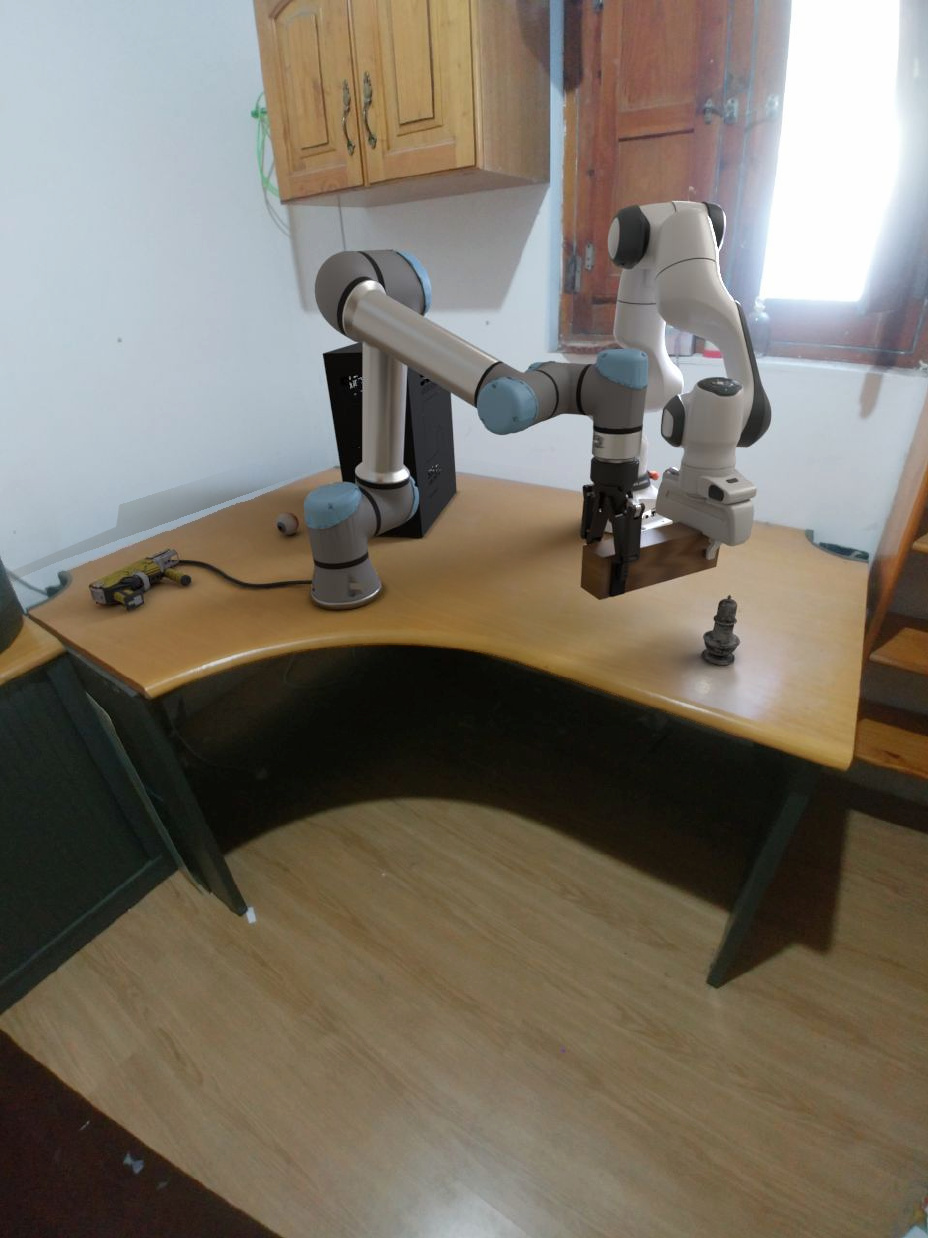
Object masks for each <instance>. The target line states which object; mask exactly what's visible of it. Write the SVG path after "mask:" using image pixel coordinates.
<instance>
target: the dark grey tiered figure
mask: <svg viewBox="0 0 928 1238" xmlns="http://www.w3.org/2000/svg"><path fill="white" fill-rule="evenodd" d="M737 610H738V603H737V602H736V600H735V599H732V595H731V594H729V595H728V596H727V598H723V599H720V601H719V602H718V605H717V610H716V615H714V616H713V622H714V624H713V628H712V629H711V630H707V631H705V633H703V635H702V639H703V642H704V646H705V649H703V650H702V652H701V656H702V658H703V659H704V660H705V661H706V662H708V663H710V664H714V665H718V666H727V665H731V664H732V663H734V661H735V659H736V657H735V654H733V653H734V652H735V651H736V650H737V648H738V647H739V646H740V644H741V639H740V638H739V636H737V635H736V634H734V628H735V625H736V624H737V623H738V620H737V618H736V615H737Z"/></svg>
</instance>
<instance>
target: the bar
mask: <svg viewBox="0 0 928 1238" xmlns="http://www.w3.org/2000/svg"><path fill="white" fill-rule="evenodd" d="M603 540H604V539H603ZM710 544H711V543H710V542H709V537H708V536H706V535H703V534H702V532H701V531H699V530H697V529H695V528H692V527H690V526H688V525H686V524H683V523H681V522H677V523H673V524H669V525H665V526H661V527H657V528H653V529H649V530H645V531H641V542H640V559H639V561H636V562H632V563H629V571H628V578H627V579H626V585H625V594H626V593H630V592H633V591H637V590H640V589H644V588H647V587H651V586H654V585H657V584H661V583H666V582H668V581H672V580H675V579H679V578H682V577H686V576H690V575H692V574H697V573H700V572H703V571H708V570H710V569H714V568H717V566H718V561H719V554H720V548H721V546H720V547H719V548H718V549H717V550H716V555H715V558H714V559H711V560H708V559H706V558H704V557H702V554H703V549H704V548H708V547H709V546H710ZM581 551H582V552H581V568H580V569H581V570H580V585H579V587H580V588H581V589H582V590H584V591H585V592H587V593H588V594H590V595H591V596H592V597H594V598H595V599H597V600H598V601H602V600H605V599H608V598H612V597H611V596H609V592H610V579H611V567H612V561H613V560H616V558H615V550H614V541H613V537H612V538H608V539H605V540H604V541H600V542H596V543H592V544H588V545H587V544H584V545H582V550H581ZM622 555H623V554H622Z"/></svg>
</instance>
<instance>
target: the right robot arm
mask: <svg viewBox="0 0 928 1238" xmlns="http://www.w3.org/2000/svg"><path fill="white" fill-rule="evenodd" d="M725 214H726V213H725V212H724V210H723V208H722V207H721V206H720V204H717V203H713V202H710V201H701V202H696V201H684V200H683V201H682V200H670V201H668V202H656V203H650V204H643V205H638V204H634V205H629V206H626V207H623V208H621V209H619V210H618V211H617V213H616V214H615V215H614V216H613V219H612V221H611V224H610V228H609V230H608V234H607V235H608V237H607V249H608V256H609V259H610V261H611V262H612V264H613V265H614V266H615V267H616V268H620V269H622V270H621V274H620V279H619V284H618V289H617V296H616V305H615V306H616V307H615V313H614V321H613V331H612V334H613V338H614V340H615V342H616V343H617V344H618V346H620V347H621V348H622V349H638V350H642V351H644V352H645V353H646V354H647V356H648V379H647V381H648V387H647V391H646V400H645V408H644V414H651V413H658V412H661V411H662V413H661V422H660V435H661V437H662V438H663V439H664V441H665V442H666V443H667V444H669V445H670V446H671V447H673V448H680V449H683V455H682V456H681V460H680V466H679V469H678V468H676V467H674V466H670V467H668V468H667V469H666V470H664V471H663V473H662V476H661V477H662V478H661V482H660V484H659V487H658V488H656V487H655V486H654V485H652V483H651V480H653V481H658V479H659V478H660V473H659V472H657V471H654V470H651V471H649V470H648V469H647V466H648V458H649V457H648V456H649V447H650V443H649V440H648V438H647V437H646V435H645V434H644V433H642V443H641V453H640V455H639V456H638V459H639V460H640V462H639V472H638V480H637V481H636V482H635V483H634V485H633V486H632V493H633V500H634V501H635V502H637V503H638V504H640V503H644V505H645V510H644V513H643V516H642V526H641V531H645V530H649V529H653V528H657V527H661V526H665V525H669V524H673V523H677V522H681V523H683V524H686V525H688V526H690V527H692V528H695V529H697V530H699V531H701V532H702V534H703V535H706V536H708V537H709V542H710V543H711V544H710V546H709V547H708V548H704V549H703V554H702V557H704V558H706V559H708V560H711V559H714V558H715V555H716V550H717V549H718V548H719V547H720V548H721V546H722V545H726V546H727V547H735V546H739V545H740V546H741V545H743V544H745V543H746V542H747V541H748V540H749V539H750V537H751V534H752V529H753V523H754V517H755V508H754V504H753V501H752V500H751V499H754V498H755V497H756V495H757V492H758V488H757V486H756V485H755V484H754V483H753V482H752V481H750V480H749V479H748V478H747V477H745V476H744V475H743V474H742V473H741V472H740V471H739V470H738V469H736V463H737V456H736V448H745V449H746V448H750V447H752V446H753V445H754V444H756V443H757V442H759V440H760V439H761V438H762V437H763V436H764V435H765V434H766V433H767V432H768V430H769V428H770V426H771V423H772V406H771V402H770V400H769V398H768V395H767V393H766V390H765V388H764V386H763V383H762V380H761V376H760V371H759V366H758V363H757V359H756V354H755V350H754V349H755V348H754V345H753V341H752V338H751V333H750V329H749V324H748V322H747V317H746V314H745V312H744V309H743V307H742V305H741V303H740V302H739V301H737V300H736V299H734V298H733V297H732V296H731V295H730V293H729V292H728V290H727V288H726V286H725V284H724V283H723V280H722V277H721V273H720V264H719V263H720V260H719V252H720V250H721V248H722V246H723V244H724V240H725V234H726V228H727V219H726V215H725ZM666 325H669V326H670V327H672V328H673V329H675V330H677V331H680V332H683V333H687V334H690V335H694V336H696V337H699V338H702V339H703V340H706V341H708V342H710V343H711V344H712V345H714V346H715V347H716V348H717V349H718V350H719V352H720V354H721V357H722V361H723V366H724V370H725V375H726V377H724V376H711V377H705V378H702V379H700V380H698V381H697V382H695V384H694V386H693V388H692V389H691V390H689V391H686V392H684V388H685V387H684V386H685V381H684V377H683V373H682V372H681V370H680V369H679V368H678V367H677V366H676V365H675V364H674V363H673V362H672V360H671V358H670V357H669V354H668V351H667V347H666ZM587 417H588V418H589V419H590V420H591V421H592V422H593V416H587ZM621 515H622V514H621ZM621 515H617V516H621ZM617 516H615V517H617ZM604 533H611V534H613V532H612V524H611V523H610V522H609V519H608V521H607V524H606V528H605V531H604Z"/></svg>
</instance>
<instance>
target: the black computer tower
mask: <svg viewBox="0 0 928 1238" xmlns="http://www.w3.org/2000/svg"><path fill="white" fill-rule="evenodd" d="M322 358H323V367H324V372H325V378H326V384H327V391H328V398H329V405H330V410H331V416H332V423H333V429H334V437H335V443H336V449H337V454H338V461H339V469H340V475H341V480H342V481H341V482H350V483H353V484H355V469H356V467H357V466H358V465H359V464H360V463H362V462H363V343H362V342H361V343H360V342H355V343H353V344H349V345H346V346H343V347H339V348H336V349H333V350H330V351H326V352H323V353H322ZM452 406H453V405H452V393H450V392H449V391H447V390H446V389H444V388H442V387H441V386H439V385H437V384H436V383H434V382H432V381H431V380H429V379H427V378H426V377H424V376H423V375H421V374H419V373H418V372H416V371H414V370H413V369H411V368H409V367H408V366H407V386H406V409H405V432H404V455H403V464H404V465H405V466H406V467H407V469H408V470H409V472H410V476H411V477H412V478H413V480H414V481H415V484H414V485H415V487H417V488H418V492H419V504H418V508H417V510H416V512H415V514H414V515H413V516H412V517H411V518H410V519H409V520H407V521H406V522H405V523H403V524H402V525H400V526H398V527H395V528H392V529H390V530H388V531H386V532H384V533H381V534H379V535H377V536H379V537H382V536H383V537H400V538H401V537H402V538H403V537H404V538H424V537H425V535H426V534H427V533H428V531H429V530H430V528H431V527H432V526H433V525H434V523H435V522H436V520H437V519H438V518H439V516H440V515H441V514H442V513H443V511H444V509H445V508H446V507H447V506H448V504H449V503H450V501H451V500H452V499H453V498H454V496H455V495H456V493H457V489H458V488H457V473H456V458H455V457H456V455H455V442H454V441H455V439H454V423H453V422H454V421H453V407H452ZM377 536H376V537H377Z"/></svg>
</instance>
